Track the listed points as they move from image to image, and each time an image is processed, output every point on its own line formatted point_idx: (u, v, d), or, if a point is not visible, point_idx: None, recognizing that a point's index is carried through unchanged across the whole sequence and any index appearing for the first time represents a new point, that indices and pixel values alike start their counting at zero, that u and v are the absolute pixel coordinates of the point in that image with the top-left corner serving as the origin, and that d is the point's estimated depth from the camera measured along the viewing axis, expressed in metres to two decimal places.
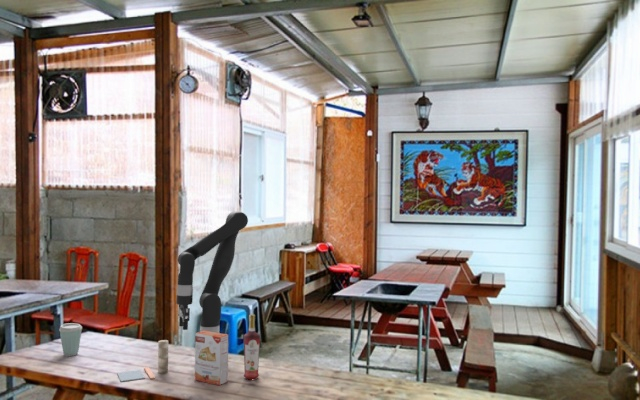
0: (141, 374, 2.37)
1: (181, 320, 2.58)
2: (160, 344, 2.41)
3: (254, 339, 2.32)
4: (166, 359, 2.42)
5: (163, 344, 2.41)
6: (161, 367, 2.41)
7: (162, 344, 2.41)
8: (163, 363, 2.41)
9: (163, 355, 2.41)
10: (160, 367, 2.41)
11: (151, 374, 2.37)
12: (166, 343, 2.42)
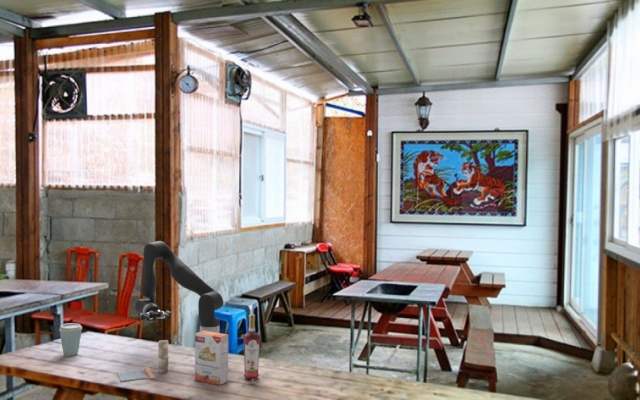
0: (141, 374, 2.37)
1: (165, 316, 2.58)
2: (160, 344, 2.41)
3: (254, 339, 2.32)
4: (166, 359, 2.42)
5: (163, 344, 2.41)
6: (161, 367, 2.41)
7: (162, 344, 2.41)
8: (163, 363, 2.41)
9: (163, 355, 2.41)
10: (160, 367, 2.41)
11: (151, 374, 2.37)
12: (166, 343, 2.42)
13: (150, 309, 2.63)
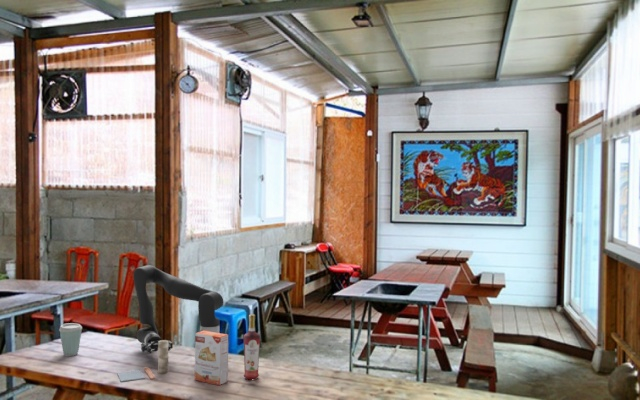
0: (141, 374, 2.37)
1: None
2: (160, 344, 2.41)
3: (254, 339, 2.32)
4: (166, 359, 2.42)
5: (163, 344, 2.41)
6: (161, 367, 2.41)
7: (162, 344, 2.41)
8: (163, 363, 2.41)
9: (163, 355, 2.41)
10: (160, 367, 2.41)
11: (151, 374, 2.37)
12: (166, 343, 2.42)
13: (151, 339, 2.59)
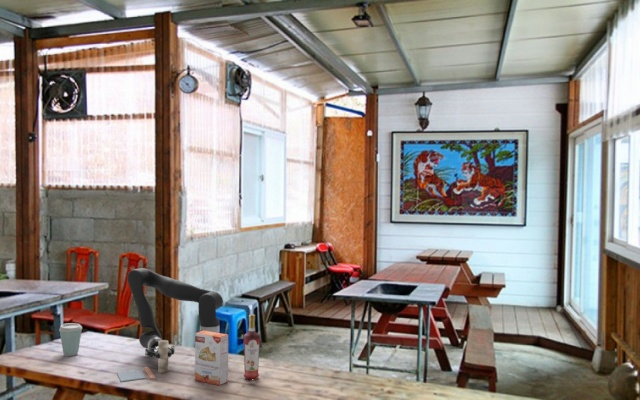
0: (141, 374, 2.37)
1: None
2: (160, 344, 2.41)
3: (254, 339, 2.32)
4: (166, 359, 2.42)
5: (163, 344, 2.41)
6: (161, 367, 2.41)
7: (162, 344, 2.41)
8: (163, 363, 2.41)
9: (163, 355, 2.41)
10: (160, 367, 2.41)
11: (151, 374, 2.37)
12: (166, 343, 2.42)
13: (155, 344, 2.51)
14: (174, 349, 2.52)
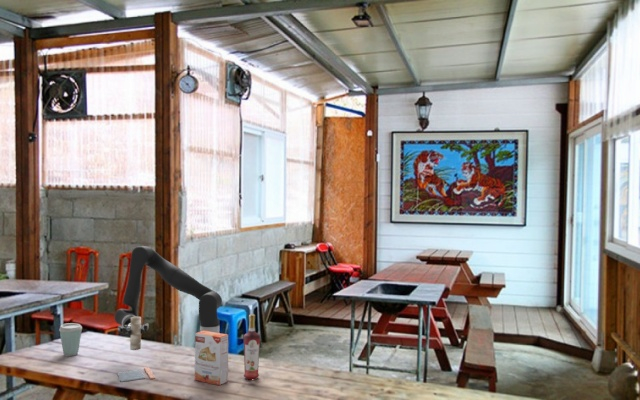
0: (141, 374, 2.37)
1: None
2: (132, 320, 2.35)
3: (254, 339, 2.32)
4: (138, 336, 2.36)
5: (135, 320, 2.35)
6: (133, 343, 2.35)
7: (134, 320, 2.35)
8: (135, 340, 2.35)
9: (136, 332, 2.35)
10: (132, 343, 2.35)
11: (151, 374, 2.37)
12: (138, 319, 2.36)
13: (129, 321, 2.46)
14: None
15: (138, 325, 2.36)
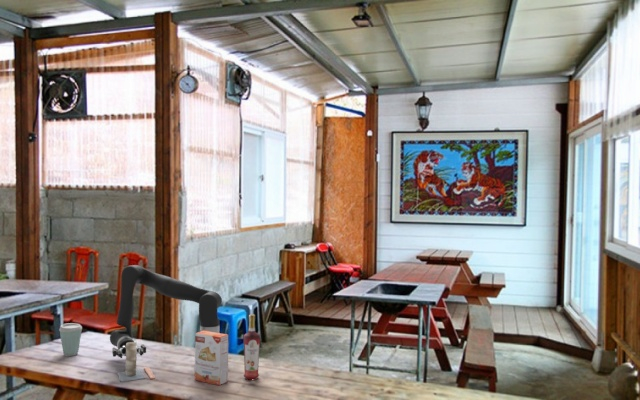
0: (141, 374, 2.37)
1: (139, 352, 2.39)
2: (128, 346, 2.35)
3: (254, 339, 2.32)
4: (134, 361, 2.35)
5: (131, 346, 2.35)
6: (128, 369, 2.34)
7: (130, 346, 2.35)
8: (131, 366, 2.35)
9: (131, 357, 2.35)
10: (128, 369, 2.34)
11: (151, 374, 2.37)
12: (134, 345, 2.36)
13: (124, 343, 2.44)
14: None
15: (133, 351, 2.36)
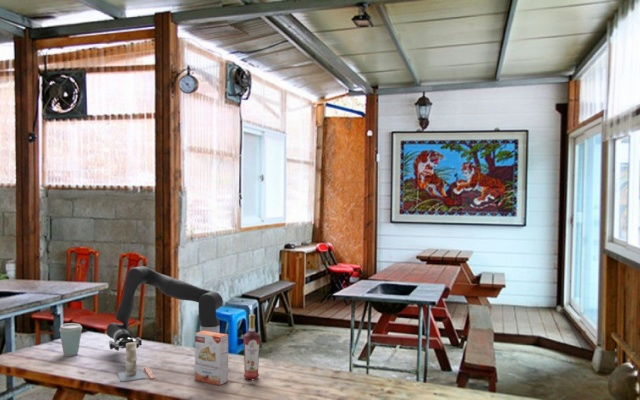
0: (141, 374, 2.37)
1: None
2: (127, 346, 2.34)
3: (254, 339, 2.32)
4: (134, 362, 2.35)
5: (130, 346, 2.34)
6: (128, 370, 2.34)
7: (129, 346, 2.34)
8: (130, 366, 2.34)
9: (131, 358, 2.34)
10: (128, 370, 2.34)
11: (151, 374, 2.37)
12: (134, 345, 2.35)
13: (120, 336, 2.56)
14: None
15: (133, 351, 2.35)
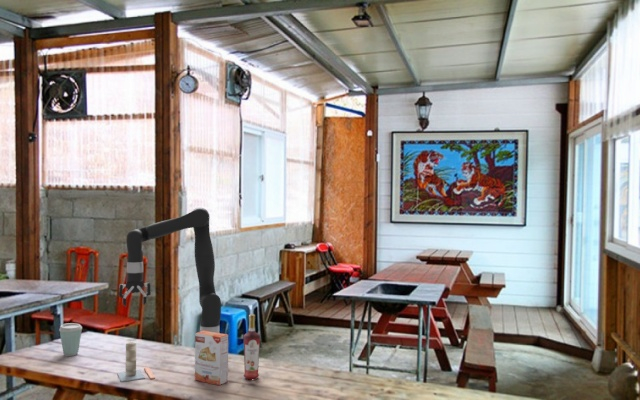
0: (141, 374, 2.37)
1: (143, 298, 2.56)
2: (127, 346, 2.34)
3: (254, 339, 2.32)
4: (134, 362, 2.35)
5: (130, 346, 2.34)
6: (128, 370, 2.34)
7: (129, 346, 2.34)
8: (130, 366, 2.34)
9: (131, 358, 2.34)
10: (128, 370, 2.34)
11: (151, 374, 2.37)
12: (134, 345, 2.35)
13: (132, 282, 2.52)
14: (149, 284, 2.58)
15: (133, 351, 2.35)
